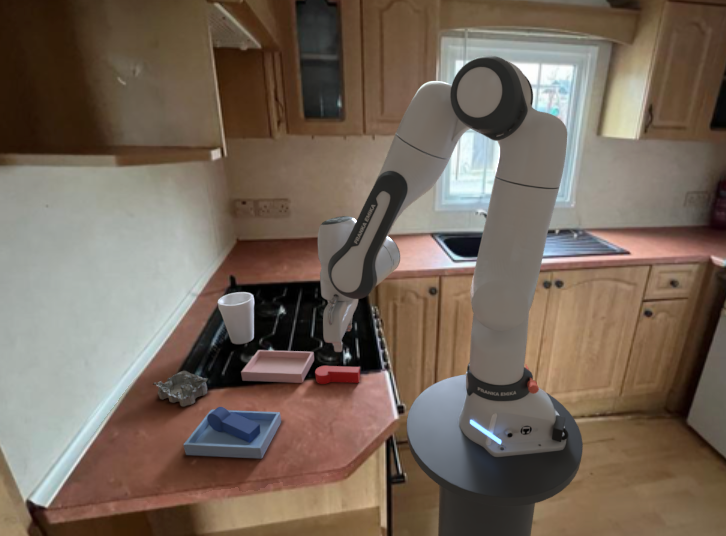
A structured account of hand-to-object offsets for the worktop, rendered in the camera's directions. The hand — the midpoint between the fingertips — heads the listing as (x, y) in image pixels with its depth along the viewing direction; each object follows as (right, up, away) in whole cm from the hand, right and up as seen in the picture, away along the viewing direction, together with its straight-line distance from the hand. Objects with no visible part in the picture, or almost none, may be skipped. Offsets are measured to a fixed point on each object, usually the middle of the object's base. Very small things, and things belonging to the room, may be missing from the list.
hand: (343, 339), depth 99 cm
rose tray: (-18, -9, +8) cm, 22 cm away
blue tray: (-19, -18, -15) cm, 30 cm away
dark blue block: (-21, -15, -16) cm, 30 cm away
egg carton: (-38, -13, -1) cm, 40 cm away
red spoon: (-2, -11, +4) cm, 11 cm away
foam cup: (-34, -4, +23) cm, 41 cm away
